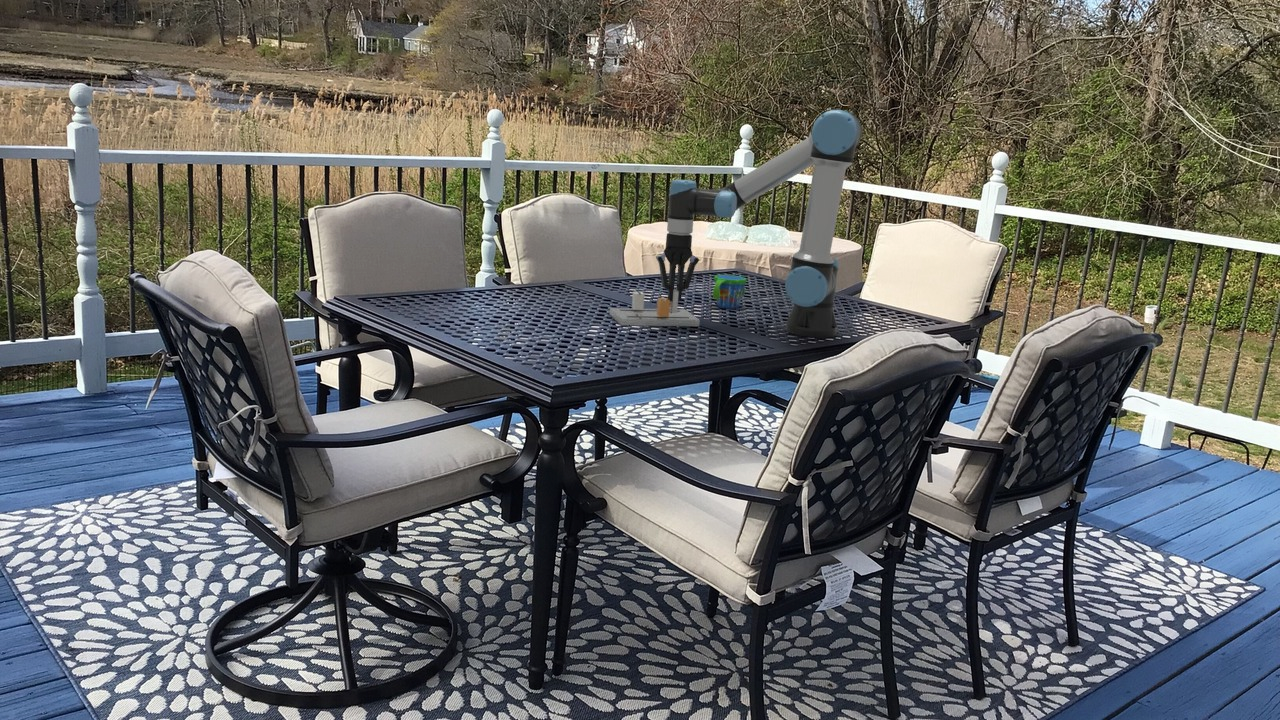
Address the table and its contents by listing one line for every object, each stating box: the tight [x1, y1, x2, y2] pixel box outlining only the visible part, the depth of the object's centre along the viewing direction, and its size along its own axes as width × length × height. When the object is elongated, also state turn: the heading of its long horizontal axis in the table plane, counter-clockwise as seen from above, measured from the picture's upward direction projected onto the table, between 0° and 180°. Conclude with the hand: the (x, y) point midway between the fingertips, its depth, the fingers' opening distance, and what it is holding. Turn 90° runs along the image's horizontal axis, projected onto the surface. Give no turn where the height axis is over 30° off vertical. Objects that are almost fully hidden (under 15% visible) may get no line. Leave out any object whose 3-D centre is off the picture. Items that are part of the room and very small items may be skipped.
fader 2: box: [656, 296, 671, 317], centre depth 292 cm, size 4×3×5 cm
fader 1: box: [631, 290, 645, 310], centre depth 300 cm, size 4×3×5 cm
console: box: [609, 307, 701, 327], centre depth 297 cm, size 17×24×2 cm
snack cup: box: [712, 274, 748, 310], centre depth 326 cm, size 16×10×10 cm
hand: (673, 312), depth 293 cm, fingers closed
